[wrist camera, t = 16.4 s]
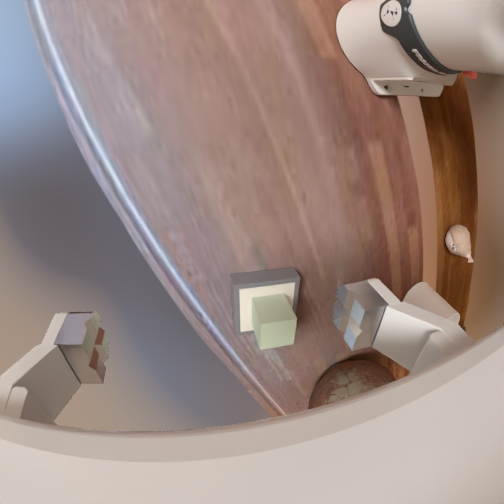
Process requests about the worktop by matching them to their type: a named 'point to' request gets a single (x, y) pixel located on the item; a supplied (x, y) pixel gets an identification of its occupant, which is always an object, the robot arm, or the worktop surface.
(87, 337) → the robot arm
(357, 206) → the worktop surface
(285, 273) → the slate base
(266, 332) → the green block
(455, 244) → the garlic bulb
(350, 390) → the jug
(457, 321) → the mug
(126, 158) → the worktop surface
